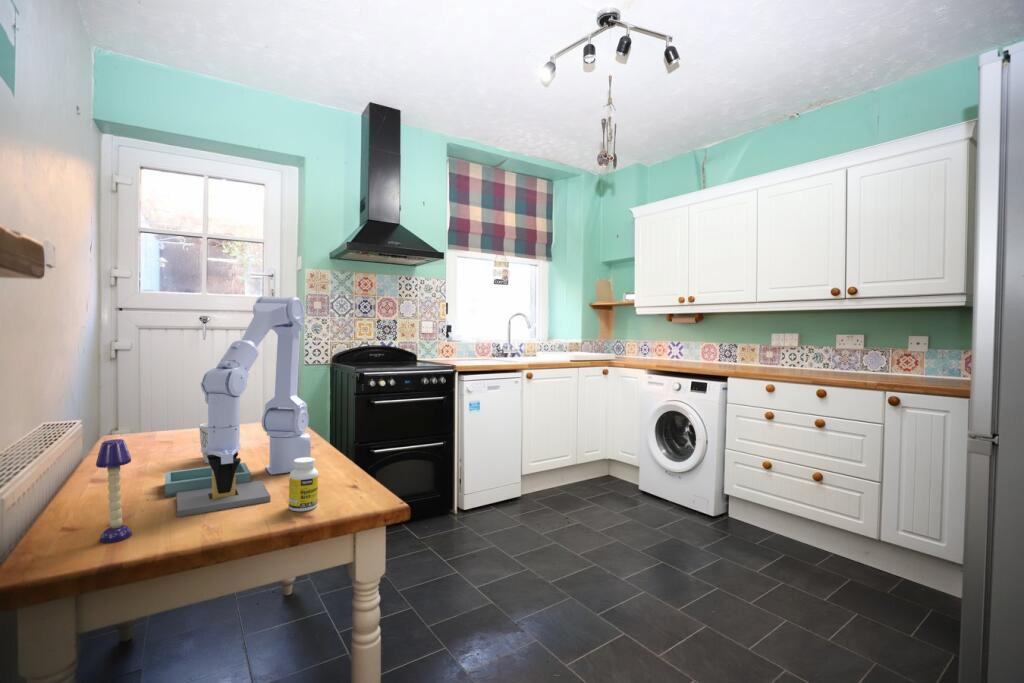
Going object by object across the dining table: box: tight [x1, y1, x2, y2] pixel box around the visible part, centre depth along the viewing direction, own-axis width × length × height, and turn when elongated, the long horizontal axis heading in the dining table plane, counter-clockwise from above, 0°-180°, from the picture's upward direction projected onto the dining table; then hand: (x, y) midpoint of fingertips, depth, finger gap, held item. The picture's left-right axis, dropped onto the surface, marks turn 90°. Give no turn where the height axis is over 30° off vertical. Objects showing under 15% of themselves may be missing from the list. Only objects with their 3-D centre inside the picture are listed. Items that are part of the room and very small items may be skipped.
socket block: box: [176, 480, 271, 518], centre depth 102 cm, size 16×12×1 cm
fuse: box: [212, 470, 236, 499], centre depth 102 cm, size 4×3×7 cm
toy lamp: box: [95, 438, 133, 544], centre depth 83 cm, size 5×5×17 cm
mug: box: [198, 421, 211, 464], centre depth 132 cm, size 11×8×10 cm
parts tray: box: [164, 462, 251, 498], centre depth 111 cm, size 16×10×3 cm, turn 125°
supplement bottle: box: [288, 457, 319, 512], centre depth 99 cm, size 5×5×10 cm
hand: (223, 490), depth 102 cm, fingers closed on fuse, 3 cm apart
